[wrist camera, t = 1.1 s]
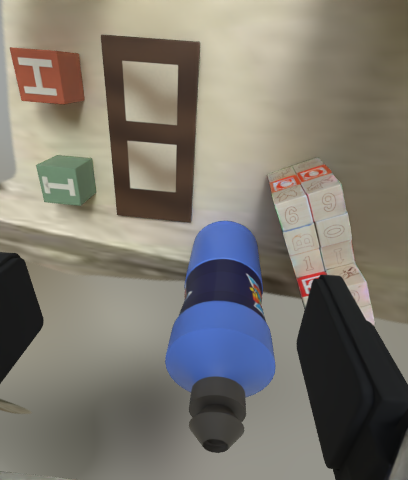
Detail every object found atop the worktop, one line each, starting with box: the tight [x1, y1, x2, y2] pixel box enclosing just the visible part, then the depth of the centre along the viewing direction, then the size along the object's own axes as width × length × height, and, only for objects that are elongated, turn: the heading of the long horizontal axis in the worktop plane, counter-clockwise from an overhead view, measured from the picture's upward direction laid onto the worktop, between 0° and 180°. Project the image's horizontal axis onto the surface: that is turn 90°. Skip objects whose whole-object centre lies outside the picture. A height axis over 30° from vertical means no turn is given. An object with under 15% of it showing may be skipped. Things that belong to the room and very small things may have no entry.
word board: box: [101, 35, 200, 222], centre depth 34 cm, size 20×10×1 cm, turn 176°
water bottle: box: [165, 221, 275, 453], centre depth 30 cm, size 9×9×25 cm
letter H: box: [10, 47, 84, 104], centre depth 30 cm, size 4×4×5 cm
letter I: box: [36, 155, 96, 206], centre depth 36 cm, size 4×4×5 cm
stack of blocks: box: [267, 158, 375, 326], centre depth 34 cm, size 21×6×12 cm, turn 21°
